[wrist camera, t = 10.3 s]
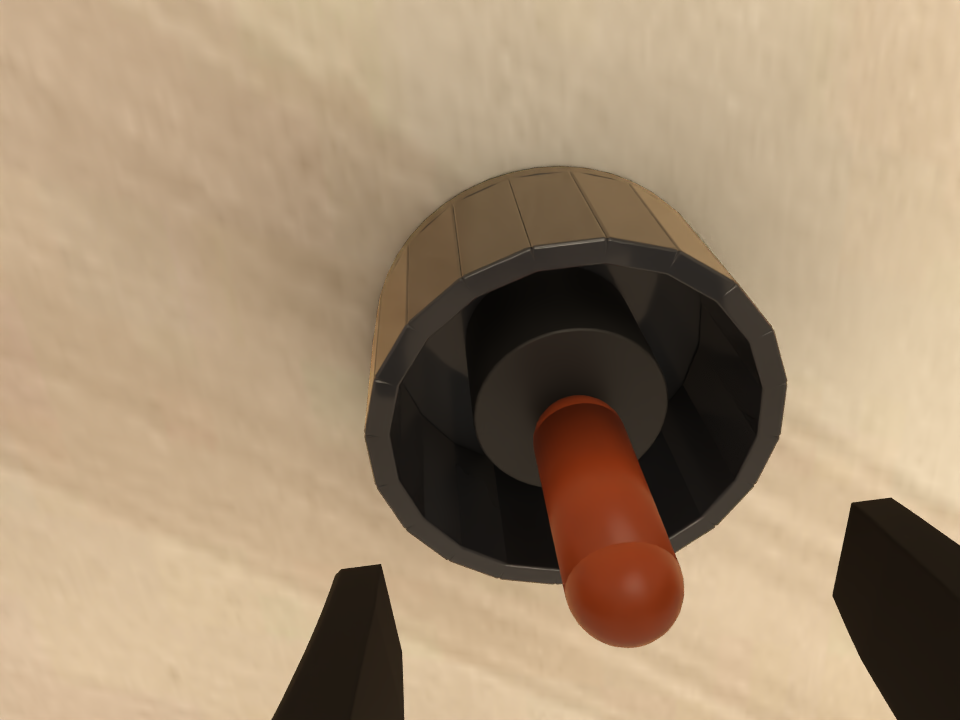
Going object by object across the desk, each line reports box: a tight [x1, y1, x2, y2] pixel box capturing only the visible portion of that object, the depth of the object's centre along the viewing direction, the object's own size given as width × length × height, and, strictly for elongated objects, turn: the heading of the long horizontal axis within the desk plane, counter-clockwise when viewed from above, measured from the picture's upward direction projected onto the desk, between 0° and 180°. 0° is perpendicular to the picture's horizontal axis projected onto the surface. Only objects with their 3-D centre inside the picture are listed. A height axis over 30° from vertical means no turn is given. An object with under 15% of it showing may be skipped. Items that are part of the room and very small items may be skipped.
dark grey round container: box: [364, 166, 787, 585], centre depth 17 cm, size 8×8×4 cm
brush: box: [465, 267, 684, 648], centre depth 14 cm, size 4×4×8 cm
